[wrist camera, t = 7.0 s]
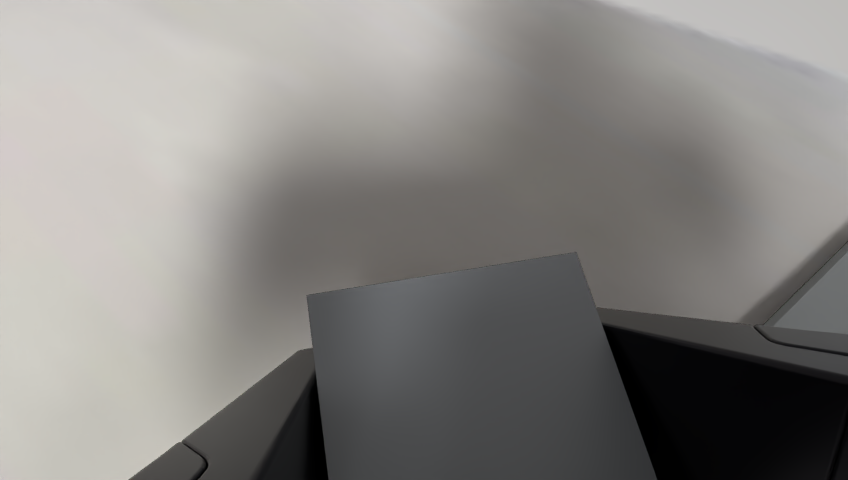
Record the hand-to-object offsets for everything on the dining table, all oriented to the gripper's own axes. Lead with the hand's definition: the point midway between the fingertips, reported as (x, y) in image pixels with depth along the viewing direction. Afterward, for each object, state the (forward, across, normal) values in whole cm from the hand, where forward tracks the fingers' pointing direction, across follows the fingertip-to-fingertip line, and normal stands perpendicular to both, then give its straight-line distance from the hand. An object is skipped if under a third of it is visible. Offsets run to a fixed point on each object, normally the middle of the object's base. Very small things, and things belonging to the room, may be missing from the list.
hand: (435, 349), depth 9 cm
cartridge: (+4, 0, -6) cm, 7 cm away
